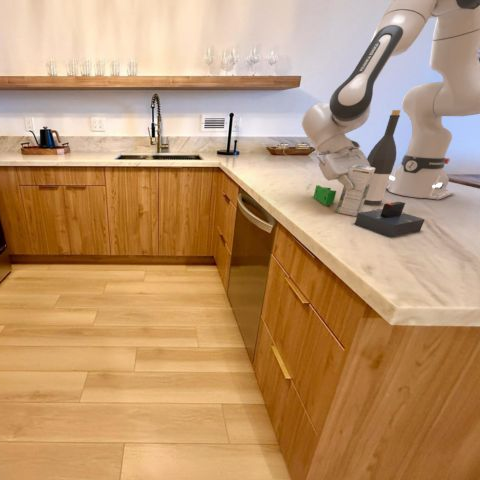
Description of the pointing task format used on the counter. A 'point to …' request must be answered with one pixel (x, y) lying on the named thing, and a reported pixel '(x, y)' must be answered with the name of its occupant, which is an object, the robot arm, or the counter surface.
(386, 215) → the black small block
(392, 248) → the counter surface
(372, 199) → the wine bottle
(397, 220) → the block
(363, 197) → the syrup box
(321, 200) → the pipe clamp
